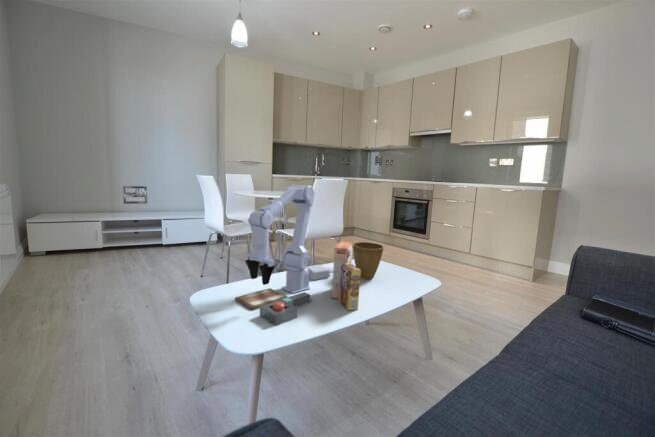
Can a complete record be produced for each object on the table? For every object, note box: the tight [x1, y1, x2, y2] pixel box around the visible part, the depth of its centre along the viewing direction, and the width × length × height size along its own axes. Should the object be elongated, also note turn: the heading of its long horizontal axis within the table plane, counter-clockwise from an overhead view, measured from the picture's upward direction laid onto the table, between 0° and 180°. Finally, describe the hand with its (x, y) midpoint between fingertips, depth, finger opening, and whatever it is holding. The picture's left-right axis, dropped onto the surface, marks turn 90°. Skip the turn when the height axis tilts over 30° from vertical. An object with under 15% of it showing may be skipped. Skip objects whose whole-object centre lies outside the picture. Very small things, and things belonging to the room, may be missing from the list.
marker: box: [282, 291, 311, 308], centre depth 117 cm, size 12×3×3 cm, turn 135°
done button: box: [273, 302, 285, 311], centre depth 106 cm, size 4×4×2 cm
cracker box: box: [331, 240, 354, 300], centre depth 129 cm, size 14×6×21 cm, turn 168°
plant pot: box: [352, 241, 385, 280], centre depth 152 cm, size 15×15×16 cm
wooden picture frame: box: [234, 287, 288, 311], centre depth 120 cm, size 16×12×1 cm
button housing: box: [259, 300, 298, 327], centre depth 106 cm, size 9×9×4 cm
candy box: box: [338, 263, 361, 311], centre depth 117 cm, size 9×4×15 cm, turn 21°
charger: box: [306, 264, 333, 281], centre depth 152 cm, size 5×9×15 cm
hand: (259, 281), depth 113 cm, fingers open, 7 cm apart
